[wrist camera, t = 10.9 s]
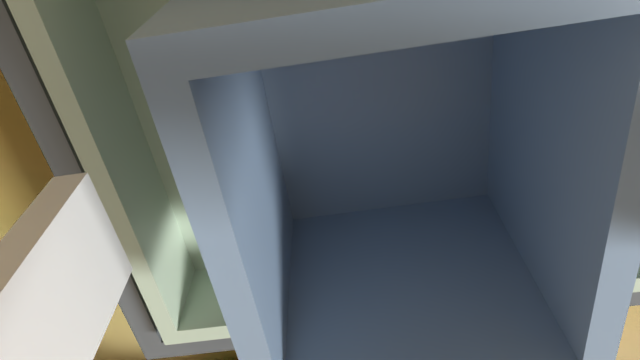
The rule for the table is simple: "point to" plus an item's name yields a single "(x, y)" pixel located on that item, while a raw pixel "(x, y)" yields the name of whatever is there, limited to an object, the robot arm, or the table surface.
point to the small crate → (406, 171)
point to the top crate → (125, 152)
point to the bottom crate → (41, 115)
